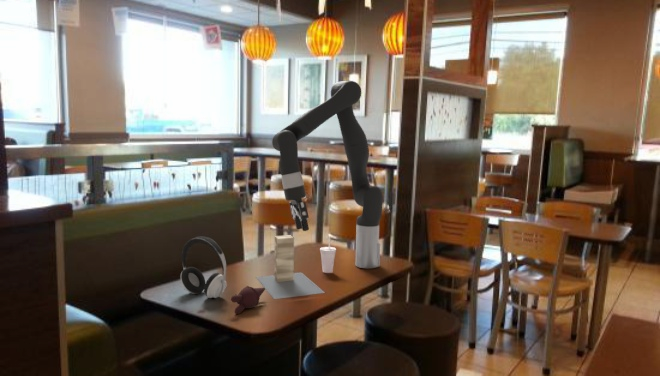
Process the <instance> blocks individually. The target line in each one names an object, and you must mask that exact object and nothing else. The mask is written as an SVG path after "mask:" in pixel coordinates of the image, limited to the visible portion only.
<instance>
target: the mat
mask: <svg viewBox="0 0 660 376" xmlns="http://www.w3.org/2000/svg"><path fill="white" fill-rule="evenodd" d="M255 279H256V280H257V281H258V282H259V284H260V285H261V286H262V288H265V290H266V292H267V293H268V294H269V295H270V297H271V298H272V299H273V300H279V299H285V298H286V299H287V298H295V297H303V296H311V295H317V294H319V295H320V294H325V293H326V292H325V291H324V290H323V289H322V288H320V287H319V286H318V285H317V284H316V283H314V282H313V281H312V280H311V279H310V278H309V277H308V276H306V275H305V274H304V273H303V272H293V280H292V281H283V282H277V281H276V280H275V279H274V275H273V274H272V275H263V276H255Z"/></svg>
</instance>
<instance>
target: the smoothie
mask: <svg viewBox="0 0 660 376" xmlns="http://www.w3.org/2000/svg"><path fill="white" fill-rule="evenodd" d="M319 252H320V259H321V267H322V268H321V269H322V273H324V274H333V270H334V263H335V257H336V252H337V248H336V247H335V246H334V247H333V246H331V237H328V246H322V247H320V248H319Z"/></svg>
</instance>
